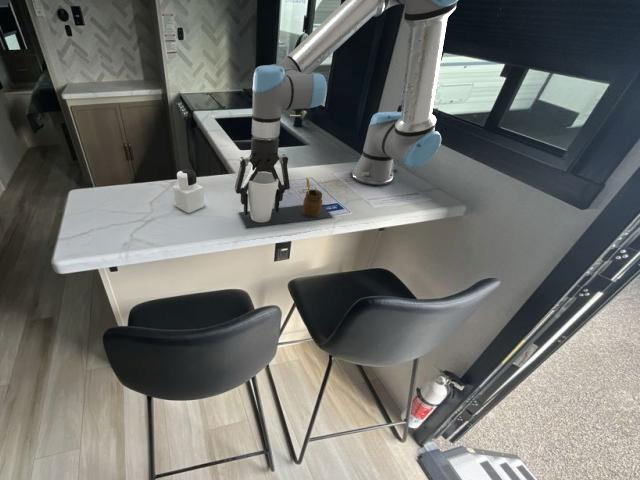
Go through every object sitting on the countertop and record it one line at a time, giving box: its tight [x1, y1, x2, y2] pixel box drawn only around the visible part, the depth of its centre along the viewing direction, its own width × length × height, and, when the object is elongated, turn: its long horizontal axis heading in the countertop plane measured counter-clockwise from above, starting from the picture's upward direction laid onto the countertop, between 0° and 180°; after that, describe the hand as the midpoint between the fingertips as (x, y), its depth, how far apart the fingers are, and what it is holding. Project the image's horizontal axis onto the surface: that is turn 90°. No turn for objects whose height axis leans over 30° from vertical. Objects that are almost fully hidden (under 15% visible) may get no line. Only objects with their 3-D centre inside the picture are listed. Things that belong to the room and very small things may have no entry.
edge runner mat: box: [238, 204, 333, 229], centre depth 106 cm, size 29×10×1 cm, turn 104°
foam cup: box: [247, 172, 280, 222], centre depth 100 cm, size 10×9×13 cm
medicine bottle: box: [172, 168, 205, 214], centre depth 106 cm, size 7×7×12 cm
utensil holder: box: [302, 177, 326, 217], centre depth 102 cm, size 6×6×12 cm
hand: (261, 211), depth 103 cm, fingers closed on foam cup, 9 cm apart
